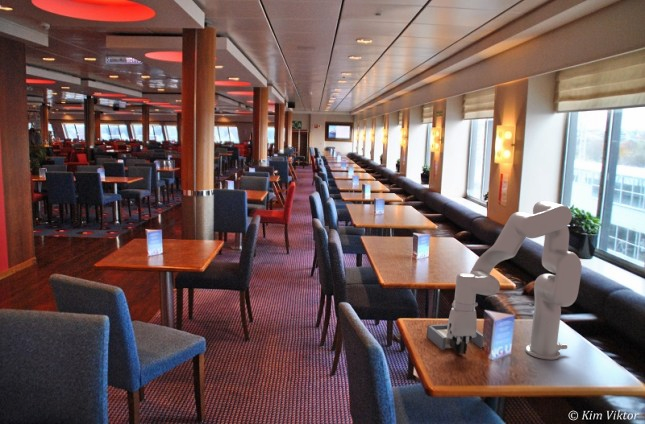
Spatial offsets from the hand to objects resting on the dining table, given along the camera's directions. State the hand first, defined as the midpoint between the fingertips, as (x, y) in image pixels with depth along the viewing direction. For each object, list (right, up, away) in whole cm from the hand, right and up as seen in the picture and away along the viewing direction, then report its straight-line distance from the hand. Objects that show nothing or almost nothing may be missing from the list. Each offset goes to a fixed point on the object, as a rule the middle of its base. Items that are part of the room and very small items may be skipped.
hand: (460, 352), depth 201 cm
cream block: (-2, 0, +7) cm, 7 cm away
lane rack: (+1, +1, +13) cm, 13 cm away
